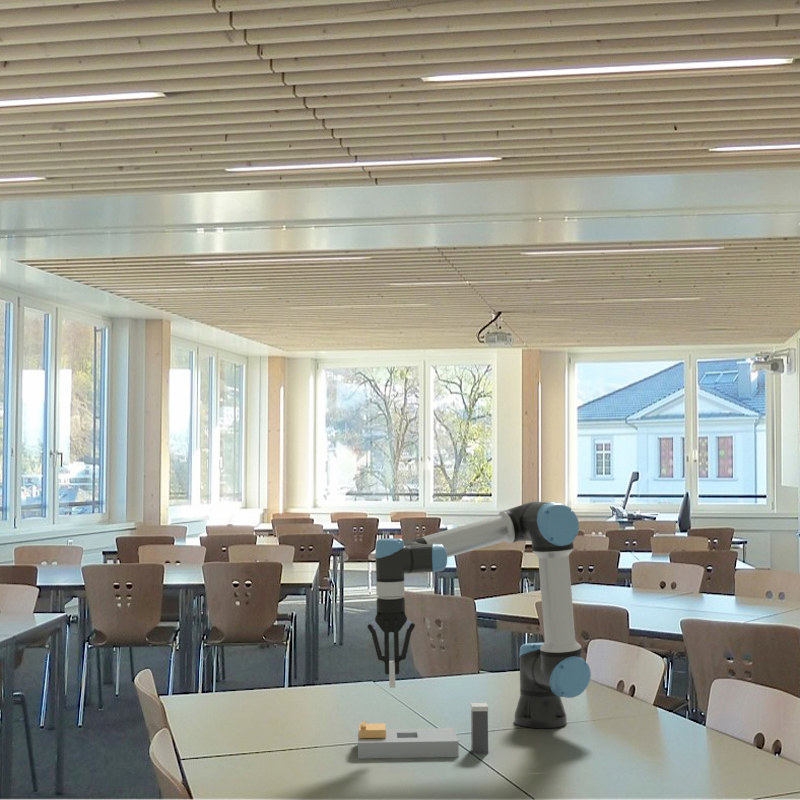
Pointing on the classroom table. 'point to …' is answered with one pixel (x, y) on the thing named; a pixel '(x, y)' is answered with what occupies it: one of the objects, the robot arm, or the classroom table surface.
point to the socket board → (411, 744)
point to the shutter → (372, 730)
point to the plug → (479, 728)
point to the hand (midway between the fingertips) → (392, 686)
